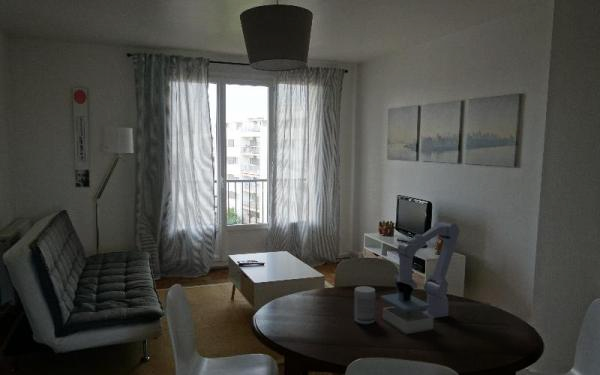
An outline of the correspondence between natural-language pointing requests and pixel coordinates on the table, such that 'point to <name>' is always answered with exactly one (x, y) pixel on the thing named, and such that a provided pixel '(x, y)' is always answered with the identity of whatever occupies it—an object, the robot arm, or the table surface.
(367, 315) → the supplement tub
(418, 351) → the table surface
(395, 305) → the snap lid
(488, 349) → the table surface
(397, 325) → the parts tub
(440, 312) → the robot arm
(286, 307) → the table surface
